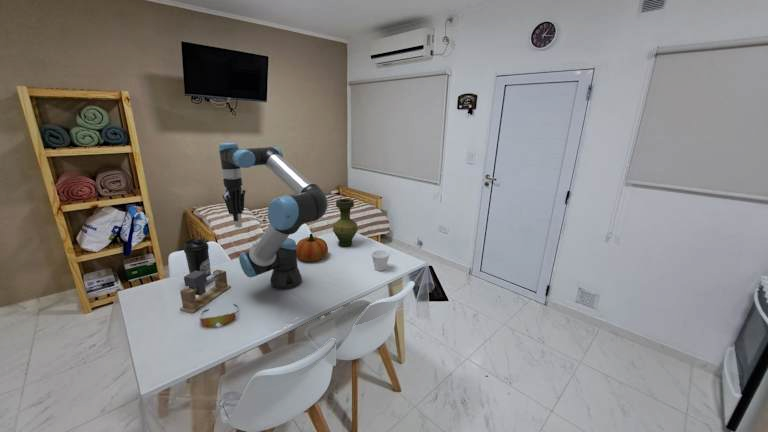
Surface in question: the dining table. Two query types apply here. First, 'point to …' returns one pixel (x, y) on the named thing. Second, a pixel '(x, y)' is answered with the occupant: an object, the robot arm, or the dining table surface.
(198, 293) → the collar
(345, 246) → the vase
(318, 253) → the pumpkin
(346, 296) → the dining table surface
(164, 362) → the dining table surface
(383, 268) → the cup
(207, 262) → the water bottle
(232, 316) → the sunglasses
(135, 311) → the dining table surface
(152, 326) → the dining table surface
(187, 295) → the rail
